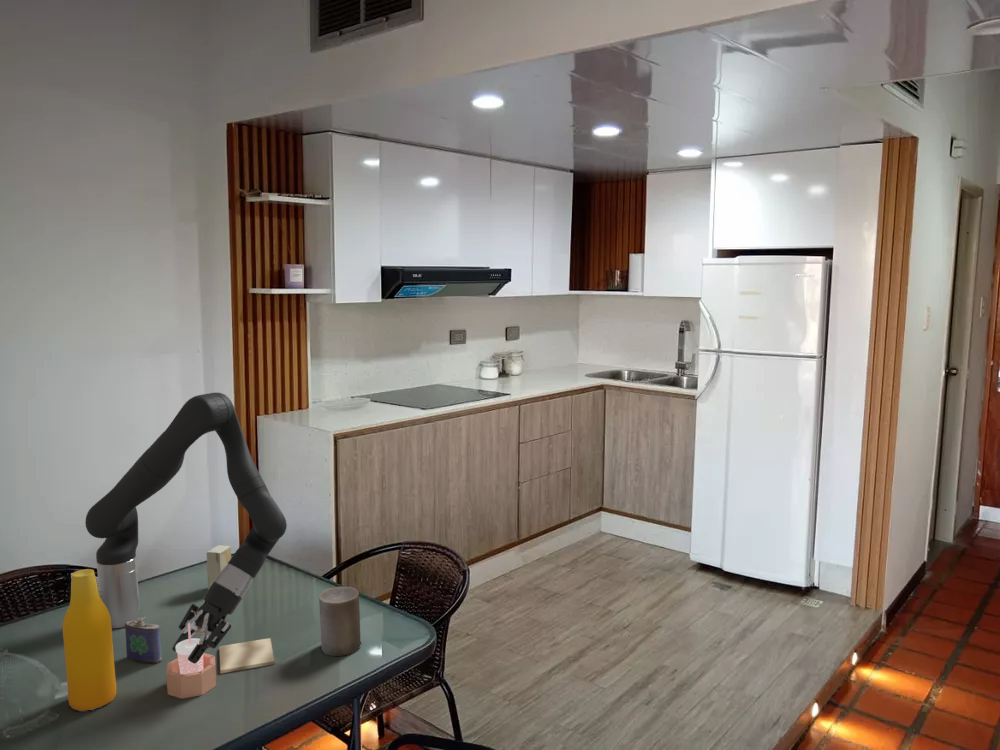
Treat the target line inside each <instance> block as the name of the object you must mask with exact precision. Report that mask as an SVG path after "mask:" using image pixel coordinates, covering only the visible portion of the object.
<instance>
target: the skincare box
mask: <svg viewBox="0 0 1000 750" xmlns="http://www.w3.org/2000/svg"><path fill="white" fill-rule="evenodd" d="M231 558H232V548H231V546H230V545H221V544H217V545H216V546H214V547H213V548H211V549H210V550H208V551H206V569H207V570H206V571H207V591H208V590H209V588H210V587H211V585H212V584H213V582H214V581H215V579H216V578H217V576H218V575H219V573H220V572H221V571H222V570H223V569H224V567H225V566H226V565H227V564H228V562H229V561H230V559H231Z"/></svg>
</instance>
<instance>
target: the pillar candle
mask: <svg viewBox="0 0 1000 750" xmlns="http://www.w3.org/2000/svg"><path fill="white" fill-rule="evenodd" d="M318 600H319V619H320V621H319V623H320V642H321V650H322V652H323V653H324V654H325V655H328V656H332V657H341V656H347V655H351V654H353V653H355V651H356V650H357V651H358V648H359V647H360V645H361V646H362V642H361V641H362V640H361V619H360V618H361V615H360V614H361V613H360V612H361V611H360V593H359V590H357V588H355V587H351V586H335V587H331V588H326V589H325V590H323V591H322V592H320V593H319V595H318ZM360 648H361V647H360ZM360 648H359V649H360ZM357 651H356V652H357Z"/></svg>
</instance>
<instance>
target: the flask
mask: <svg viewBox="0 0 1000 750" xmlns="http://www.w3.org/2000/svg"><path fill="white" fill-rule="evenodd" d="M136 620H137V621H135V620H133V621H128V622H126V624H125V627H124V629H125V645H126V646H125V647H126V649H125V650H126V660H127V661H129V662H133V663H138V664H139V663H140V664H144V665H145V664H147V665H157V664H160V662H162V648H161V646H162V645H161V634H160V633H161V632H160V631H161V630H160V629H161V627H160V625H159V624H155V623H154V624H153V623H145V620H146V617H145V616H143V617H140V618H138V619H136Z"/></svg>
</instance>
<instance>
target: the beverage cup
mask: <svg viewBox="0 0 1000 750" xmlns="http://www.w3.org/2000/svg"><path fill="white" fill-rule="evenodd" d="M187 625H188V637H189V639H186V640H183V641H181V642H179V643H178V644H177V645H176V646H175V647H176V652H175V653H176V654H177V658H178V662H179V669H180V674H182V675H183V674H189V673H195V672H199V671H201V670H203V657H204V653H205V652H204V653H203V655H202V656H201V658H200V659H199V661H198V662H197V663H195V664H194V663H192V662H190V661H189V660H188V657H189V656H190V654H191V653H192V651H193V650H194V648H195V647H196V645H197V644H199V641H200V638H199V637H197V638H196V637H191V632H190V631H191V629H190V623H188V622H187Z"/></svg>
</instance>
